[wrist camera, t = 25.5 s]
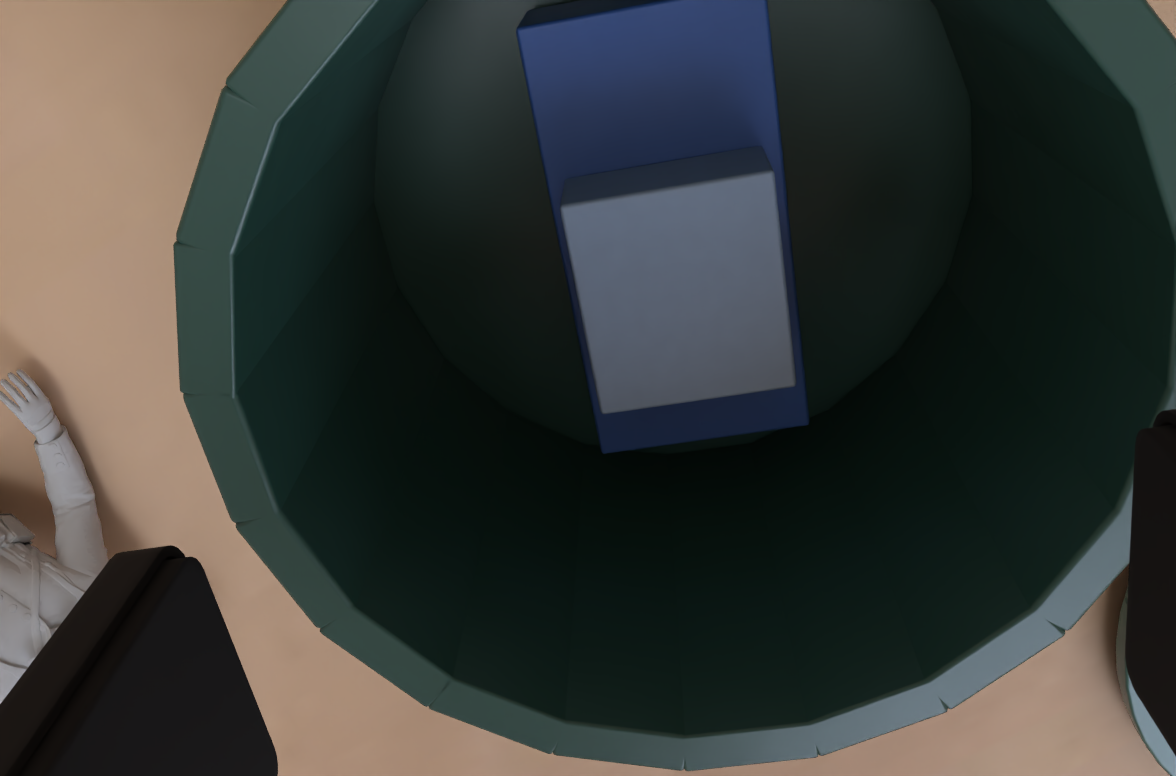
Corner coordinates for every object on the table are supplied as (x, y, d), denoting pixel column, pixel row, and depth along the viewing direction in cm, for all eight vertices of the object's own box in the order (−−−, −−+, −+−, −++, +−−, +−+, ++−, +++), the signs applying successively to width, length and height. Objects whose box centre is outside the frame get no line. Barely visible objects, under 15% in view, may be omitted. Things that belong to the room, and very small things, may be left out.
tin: (1004, 424, 22) (1196, 717, 15) (433, 502, 24) (342, 808, 16) (998, -251, 17) (1301, -333, 9) (258, -99, 18) (-3, -62, 11)
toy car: (790, 364, 21) (824, 469, 18) (604, 390, 22) (599, 500, 18) (748, -37, 18) (779, -7, 14) (528, 5, 18) (504, 44, 15)
